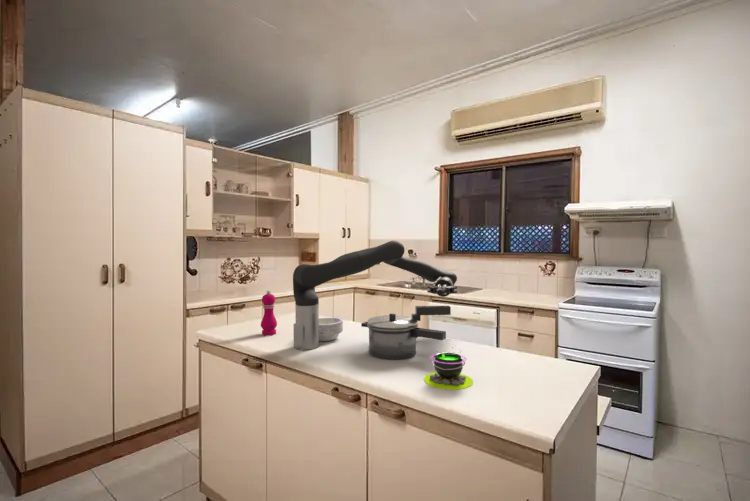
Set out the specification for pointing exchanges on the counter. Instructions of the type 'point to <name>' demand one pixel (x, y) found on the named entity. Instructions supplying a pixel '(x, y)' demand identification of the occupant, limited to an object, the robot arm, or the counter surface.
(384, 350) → the cooker pot
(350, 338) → the counter surface
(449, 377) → the toy cauldron
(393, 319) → the lid
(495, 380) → the counter surface
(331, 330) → the paper bowls
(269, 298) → the pepper mill
